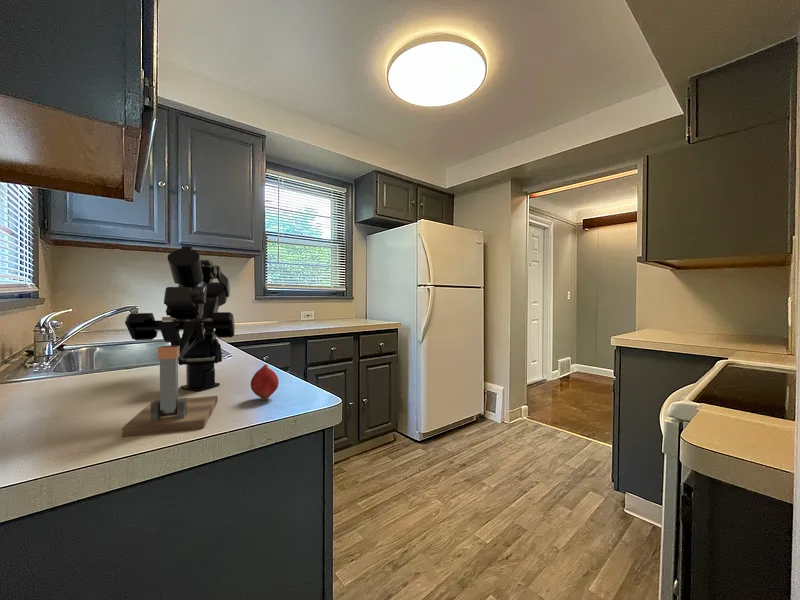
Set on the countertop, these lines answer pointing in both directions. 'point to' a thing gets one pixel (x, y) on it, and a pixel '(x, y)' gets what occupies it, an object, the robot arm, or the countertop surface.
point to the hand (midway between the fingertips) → (176, 359)
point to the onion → (264, 382)
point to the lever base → (172, 417)
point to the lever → (168, 379)
